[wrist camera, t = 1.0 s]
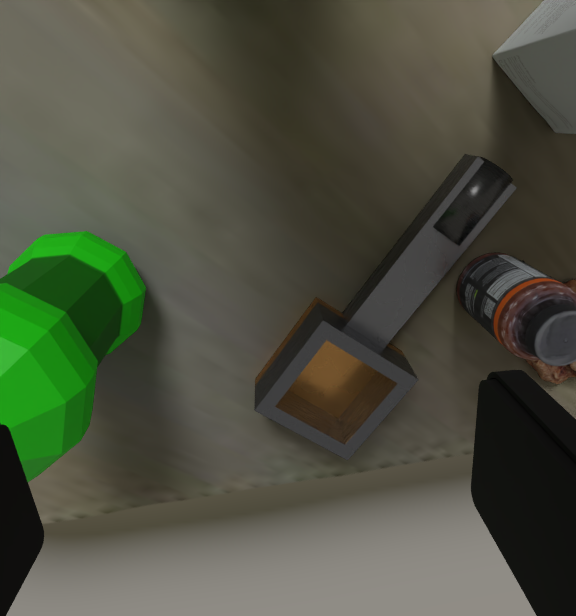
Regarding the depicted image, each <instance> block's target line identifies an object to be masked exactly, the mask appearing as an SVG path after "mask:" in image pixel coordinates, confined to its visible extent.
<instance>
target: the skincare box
mask: <svg viewBox="0 0 576 616" xmlns="http://www.w3.org/2000/svg"><path fill="white" fill-rule="evenodd" d="M493 58H494V60H495V61H496V62H497V63H498V65H499V66H500V67H501V68H502V70H503V71H504V72H505V73H506V74H507V76H508V77H509V78H510V79H511V80H512V82H513V83H514V84H515V85H516V87H517V88H518V89H519V90H520V91H521V93H522V94H523V95H524V96H525V97H526V99H527V100H528V101H529V102H530V103H531V105H532V106H533V107H534V108H535V109H536V111H537V112H538V113H539V114H540V115H541V116H542V117H543V118H544V119H545V120H546V121H547V123H548V124H549V125H550V127H551V128H552V129H553V131H554V132H555V133H566V134H576V0H544V1H543V2H542V3H541V4H540V5H539V6H538V7H537V8H536V10H535V11H534V12H533V13H532V14H531V15H530V16H529V17H528V18H527V19H526V20H525V21H524V22H523V23H522V24H521V26H520V27H519V28H518V29H517V30H516V31H515V32H514V33H513V34H512V35H511V36H510V37H509V38H508V39H507V40H506V41H505V42H504V43H503V45H502V46H501V47H500V48H499V49H498V50H497V51H496V52H495V53H494V54H493Z"/></svg>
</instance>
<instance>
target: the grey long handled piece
mask: <svg viewBox="0 0 576 616" xmlns="http://www.w3.org/2000/svg"><path fill="white" fill-rule="evenodd" d="M512 181H513V179H512V178H511V177H510V175H509V174H507V173H506V172H505V171H504V170H503V169H501V168H500V167H498V166H497V165H495V164H494V163H492V162H491V161H489V160H487V159H485V158H483V157H479V156H473V155H467V154H465V155H464V156H463V157H462V159H461V160H460V161H459V163H458V164H457V165H456V167H455V168H454V169H453V170H452V172H451V173H450V174H449V176H448V177H447V178H446V179H445V181H444V182H443V183H442V185H441V186H440V187H439V189H438V190H437V191H436V192H435V194H434V195H433V196H432V198H431V199H430V200H429V202H428V203H427V204H426V205H425V207H424V208H423V209H422V211H421V212H420V213H419V214H418V216H417V217H416V218H415V220H414V221H413V222H412V224H411V225H410V226H409V227H408V229H407V230H406V231H405V233H404V234H403V235H402V236H401V238H400V239H399V240H398V242H397V243H396V244H395V246H394V247H393V248H392V249H391V251H390V252H389V253H388V255H387V256H386V257H385V259H384V260H383V261H382V262H381V264H380V265H379V266H378V268H377V269H376V270H375V271H374V273H373V274H372V275H371V277H370V278H369V279H368V281H367V282H366V283H365V284H364V286H363V287H362V288H361V290H360V291H359V292H358V294H357V295H356V296H355V297H354V299H353V300H352V301H351V303H350V304H349V305H348V306H347V308H346V309H345V310H344V312H343V313H341V312H339V311H338V310H336V309H334V308H333V307H331V306H330V305H328V304H326V303H325V302H323V301H322V300H320V299H319V298H317V297H316V298H315V299H314V301H313V302H312V303H311V305H310V306H309V307H308V309H307V310H306V311H305V313H304V314H303V315H302V317H301V318H300V319H299V321H298V322H297V323H296V325H295V326H294V328H293V329H292V330H291V332H290V333H289V334H288V336H287V337H286V338H285V340H284V341H283V342H282V344H281V345H280V346H279V348H278V349H277V350H276V352H275V353H274V354H273V356H272V357H271V359H270V360H269V361H268V363H267V364H266V365H265V367H264V368H263V369H262V371H261V372H260V373H259V375H258V376H257V377H256V379H255V411H256V412H258V413H260V414H262V415H264V416H266V417H268V418H269V419H271V420H273V421H275V422H277V423H279V424H281V425H282V426H284V427H286V428H288V429H290V430H292V431H294V432H296V433H297V434H299V435H301V436H303V437H305V438H307V439H309V440H311V441H312V442H314V443H316V444H318V445H320V446H322V447H324V448H325V449H327V450H329V451H331V452H333V453H335V454H337V455H339V456H340V457H342V458H344V459H346V460H348V459H349V458H350V457H351V456H352V455H353V454H354V452H355V451H356V450H357V449H358V448H359V447H360V446H361V445H362V443H363V442H364V441H365V440H366V439H367V438H368V437H369V435H370V434H371V433H372V432H373V431H374V430H375V429H376V427H377V426H378V425H379V424H380V423H381V422H382V421H383V419H384V418H385V417H386V416H387V415H388V414H389V413H390V412H391V410H392V409H393V408H394V407H395V406H396V405H397V404H398V402H399V401H400V400H401V399H402V398H403V397H404V396H405V394H406V393H407V392H408V391H409V390H410V389H411V388H412V386H413V385H414V384H415V383H416V382H417V381H418V378H417V376H416V374H415V373H414V371H413V369H412V368H411V366H410V364H409V363H408V361H407V359H406V358H405V356H404V354H403V352H402V351H401V350H399V349H398V348H396V347H395V346H393V345H391V344H390V343H389V342H390V341H391V339H392V338H393V337H394V336H395V334H396V333H397V332H398V331H399V330H400V328H401V327H402V326H403V325H404V324H405V322H406V321H407V320H408V319H409V318H410V316H411V315H412V314H413V313H414V312H415V310H416V309H417V308H418V307H419V305H420V304H421V303H422V302H423V301H424V299H425V298H426V297H427V296H428V295H429V293H430V292H431V291H432V290H433V289H434V287H435V286H436V285H437V284H438V283H439V281H440V280H441V279H442V278H443V277H444V275H445V274H446V273H447V272H448V270H449V269H450V268H451V267H452V266H453V264H454V263H455V262H456V261H457V260H458V258H459V257H460V256H461V255H462V254H463V252H464V251H465V250H466V249H467V248H468V246H469V245H470V244H471V243H472V241H473V240H474V239H475V238H476V237H477V235H478V234H479V233H480V232H481V231H482V229H483V228H484V227H485V226H486V225H487V223H488V222H489V221H490V220H491V219H492V217H493V216H494V215H495V214H496V212H497V211H498V210H499V209H500V208H501V206H502V205H503V204H504V203H505V202H506V200H507V199H508V198H509V197H510V196H511V194H512V193H513V192H514V191H515V190H516V187H515V186H514V185H513V184H511V183H512Z"/></svg>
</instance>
